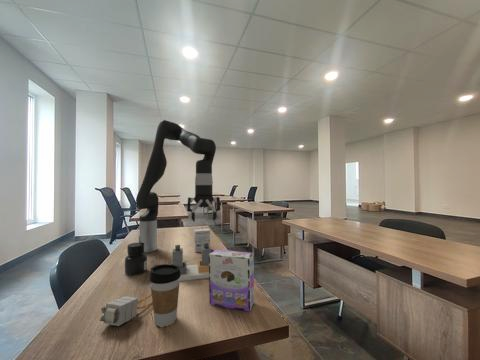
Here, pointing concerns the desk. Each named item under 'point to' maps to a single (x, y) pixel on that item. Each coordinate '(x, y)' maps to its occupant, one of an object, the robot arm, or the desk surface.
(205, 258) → the plug
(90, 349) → the desk surface
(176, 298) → the coffee cup
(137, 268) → the ink bottle
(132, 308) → the electrical component
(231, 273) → the candy box
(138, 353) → the desk surface
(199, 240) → the ink box
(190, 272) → the dock
